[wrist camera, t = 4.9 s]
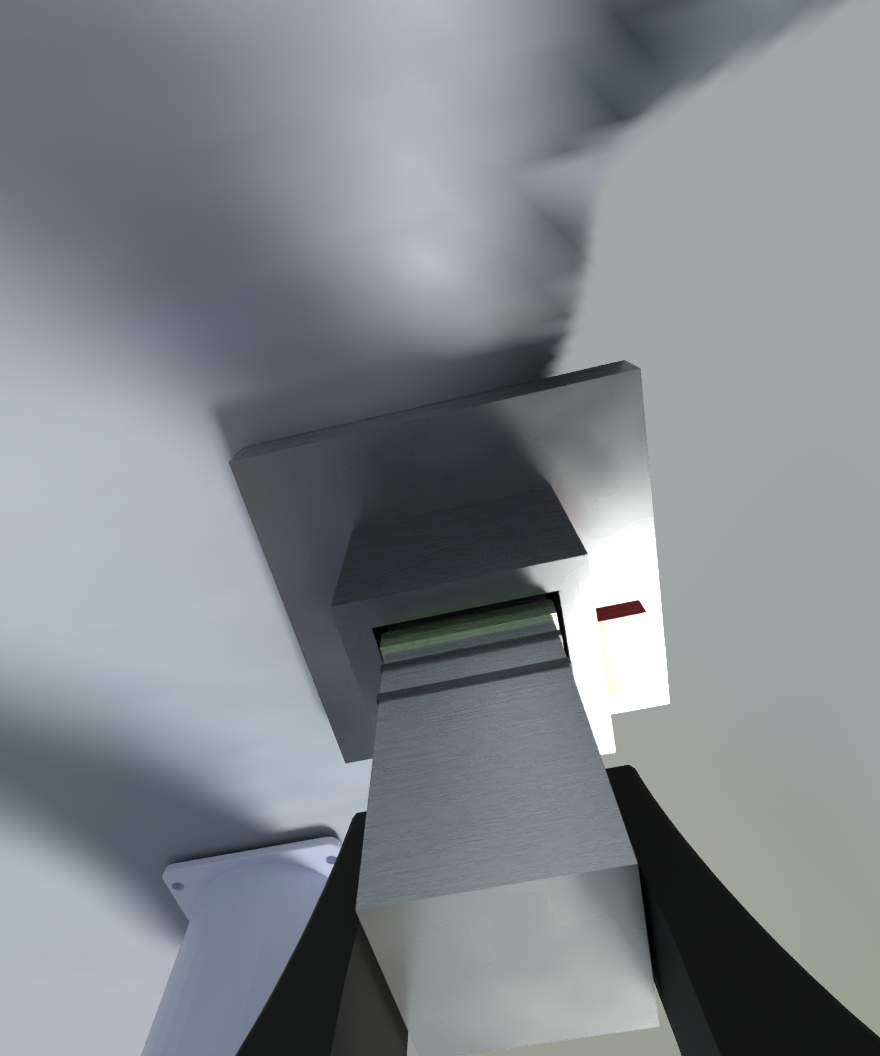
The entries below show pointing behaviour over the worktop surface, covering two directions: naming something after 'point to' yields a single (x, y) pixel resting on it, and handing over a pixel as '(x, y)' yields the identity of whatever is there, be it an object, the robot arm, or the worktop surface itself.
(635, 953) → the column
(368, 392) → the worktop surface
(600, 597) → the stand
